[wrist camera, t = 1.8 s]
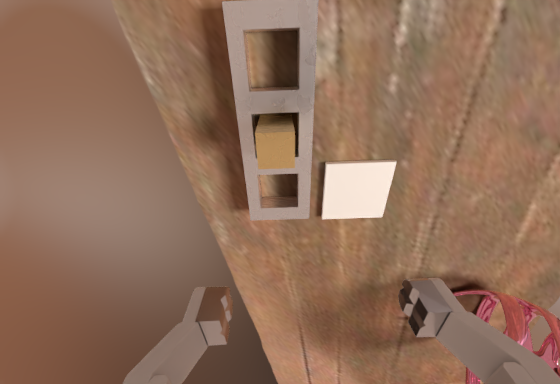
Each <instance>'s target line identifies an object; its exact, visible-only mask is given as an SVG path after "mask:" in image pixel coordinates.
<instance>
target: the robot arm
mask: <svg viewBox="0 0 560 384" xmlns="http://www.w3.org/2000/svg"><path fill="white" fill-rule="evenodd" d="M402 285H403V287H404V288H402V289H401V290H400V291H399V295H398V298H399V303H400V306H401V308H402V311H403V312H404V313H405V314H406V315H408V316H409V320H408V322H409V324H410V326H411V328H412V330H413V332H414V334H415V336H416V337H436V339H437V340H438V341H439V342H441V343H442V344H443V345H444V346H445V347H446V348H447V349H448V350H449V351H450V352H451V353H452V354H453V355H455V356H456V357H457V358H458V359H459V360H460V361H461V362H462V363H463V364H464V365H465V366H466V367H467V368H468V369H470V370H471V371H472V372H473V373H474V374H475V375H476V376H477V377H478V378H479V379H480V380H481V381H482V382H484V384H560V377H559V376H558V375H557V374H556V373H555V372H554V371H553V370H552V368H551V367H550V366H549V365H548V364H547V363H546V362H545V361H544V360H543V359H542V358H540V357H538V356H537V355H535V354H534V353H532V352H531V351H529V350H528V349H526V348H525V347H523V346H522V345H520V344H519V343H517V342H516V341H514V340H513V339H511V338H509V337H508V336H506V335H505V334H503V333H502V332H500V331H499V330H497V329H496V328H494V327H493V326H491V325H490V324H488V323H487V322H485V321H483V320H482V319H480V318H479V317H477V316H476V315H474V314H473V313H471V312H466V310H465V309H464V308H463V306H462V305H461V304H460V302H459V301H458V300H457V299H456V297H455V296H454V295H453V293H452V292H451V291H450V290H449V288H448V287H447V286H446V284H445V283H444V282H443V280H441V279H440V278H418V279H405V280H404V281H403V283H402ZM229 295H230V289H229V287H196V288H195V290H194V291H193V294H192V297H191V299H190V302H189V305H188V308H187V310H186V313H185V316H184V319H183V321H182V323H178V324H177V325H176V326H175V327H174V328H173V329H172V330H171V331H170V332H169V333H168V334H167V335H166V336H165V337H164V338H163V339H162V340H161V341H160V342H159V343H158V344H157V345H156V346H155V347H154V348H153V349H152V350H151V351H150V352H149V353H148V354H147V355H146V357H144V358H143V360H142V361H140V363H138V364H137V365H136V366H135V367H134V369H132V371H131V372H130V373H129V374H128V375H127V376H126V378H125V381H124V383H123V384H182V382H183V381H184V380H185V378H186V377H187V376H188V374H189V373H190V371H191V370H192V368H193V367H194V365H195V364H196V363H197V361H198V360H199V358H200V357H201V356H202V354H203V353H204V351H205V350H206V349H207V347H208V345H222V344H227V340H228V335H229V329H230V328H229V325H228V322H229V320H231V318H232V309H233V302H232V297H231V296H229Z"/></svg>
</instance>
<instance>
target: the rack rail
mask: <svg viewBox="0 0 560 384" xmlns="http://www.w3.org/2000/svg"><path fill="white" fill-rule="evenodd" d="M222 7H223V14H224V22H225V29H226V37H227V45H228V52H229V60H230V67H231V75H232V83H233V90H234V98H235V105H236V113H237V120H238V128H239V136H240V143H241V151H242V158H243V166H244V174H245V181H246V189H247V196H248V204H249V211H250V219H251V220H277V219H307V218H309V208H310V185H311V161H312V138H313V114H314V91H315V67H316V44H317V20H318V0H246V1H223V2H222ZM293 30H298V40H297V87H272V88H252V86H251V76H250V65H249V54H248V43H247V32H269V31H293ZM291 112H297V149H295V168H283V169H258V160H257V150H256V139H255V131H256V130H255V119H254V114H265V113H291ZM269 174H297V196H289V197H262V195H261V184H260V175H269Z"/></svg>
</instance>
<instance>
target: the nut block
mask: <svg viewBox="0 0 560 384" xmlns="http://www.w3.org/2000/svg"><path fill="white" fill-rule="evenodd" d="M255 139H256V150H257V160H258V169H283V168H295V130H294V125H293V121H292V116H291V114H269V115H260V118H259V121H258V124H257V128H256V131H255Z"/></svg>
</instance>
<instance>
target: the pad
mask: <svg viewBox="0 0 560 384" xmlns="http://www.w3.org/2000/svg"><path fill="white" fill-rule="evenodd" d="M395 166H396V161H395V160H366V161H338V162H325V175H324V188H323V201H322V213H321V217H322V219H342V218H373V217H382V216H383V213H384V209H385V205H386V201H387V197H388V193H389V189H390V186H391V182H392V178H393V174H394V170H395Z"/></svg>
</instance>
